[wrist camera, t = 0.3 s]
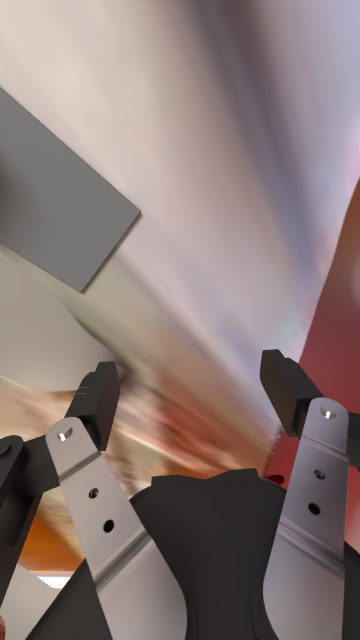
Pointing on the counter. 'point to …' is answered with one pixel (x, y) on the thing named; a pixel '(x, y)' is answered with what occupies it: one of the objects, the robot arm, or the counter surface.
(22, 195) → the rubber mat
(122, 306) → the counter surface
